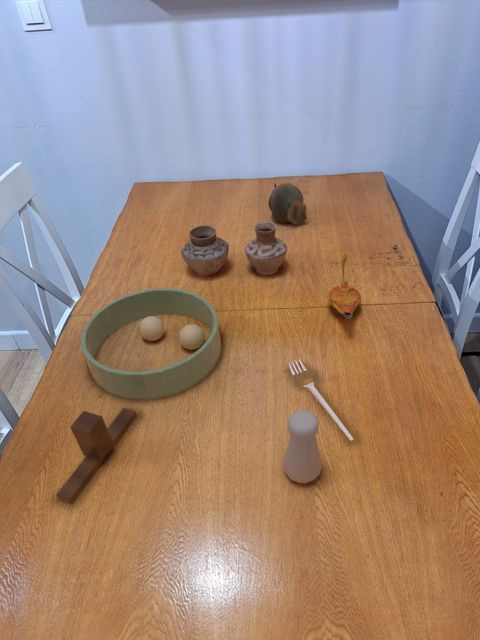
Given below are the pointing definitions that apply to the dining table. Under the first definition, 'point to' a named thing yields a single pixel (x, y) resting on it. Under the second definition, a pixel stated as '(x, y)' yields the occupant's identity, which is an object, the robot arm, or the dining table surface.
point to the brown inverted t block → (93, 447)
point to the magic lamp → (344, 295)
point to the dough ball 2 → (191, 336)
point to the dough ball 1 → (151, 328)
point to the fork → (321, 399)
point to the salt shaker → (302, 447)
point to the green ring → (159, 379)
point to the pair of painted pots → (212, 251)
